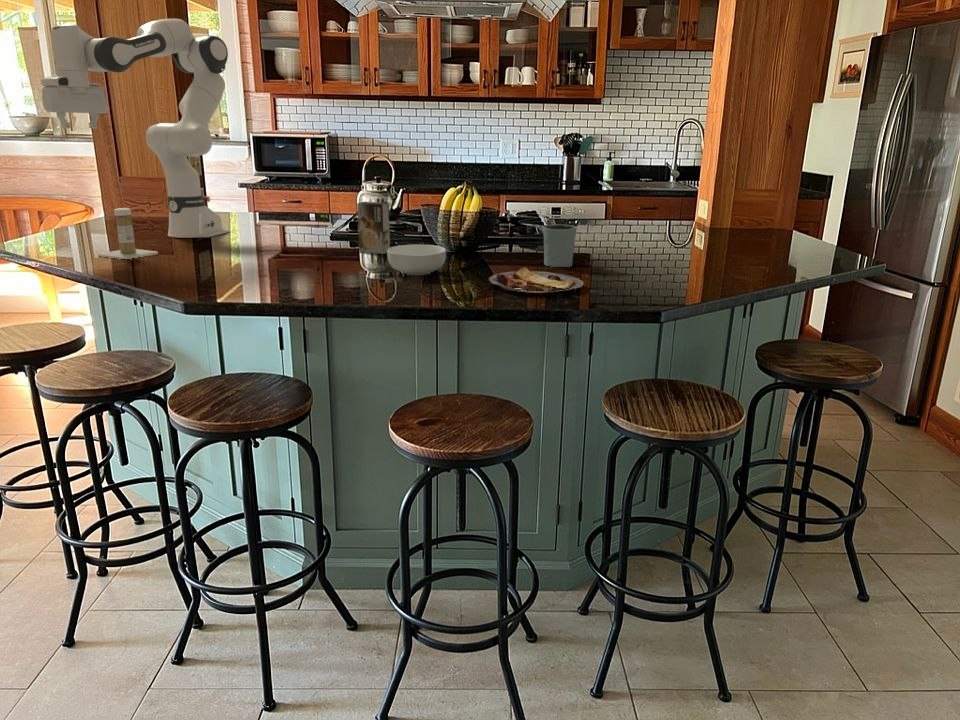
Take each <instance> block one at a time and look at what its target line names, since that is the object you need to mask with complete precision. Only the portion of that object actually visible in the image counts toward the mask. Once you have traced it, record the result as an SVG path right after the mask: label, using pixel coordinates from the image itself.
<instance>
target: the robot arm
mask: <svg viewBox="0 0 960 720" xmlns="http://www.w3.org/2000/svg"><path fill="white" fill-rule="evenodd" d="M50 42H51V52H52V56H53V59H54V63H55V66H54V71H55V74H52V75H49V76H46V77H42V78H41V79H40V84H41V86H42V87H43V88H42V89H41V98H42V99H41V100H42V105H43V109H44V110H45V111H46V112H47V113H56V117H57V119H58V120H59V121H60V123H61V127H62V129H70V128H71V122H69V121H67V119H66V116H67V115H66V113H68V114H69V113H72V114H73V113H74V114H75V113H76V114H89V117H91V120H90V122H88V127H89V129H98V125H97V123H98V120H99V117H100V116H99V114H107V113H108V112H109V106H108V102H107V98H106V94H105V90H104V89H105V88H104V87H103V86H102V85H101V84H100V83H98V82H90V79H89V71H91V72H93V73H97V72H98V73H105V72H108V73H123V72H126V71H127V70H128V69H130V67H132V65H133V64H134V63H135V62H137V61H139V60H142V59H145V58H147V57H148V58H162V57H167V56H170V55H171V57H172V59H173V62H174V65H175V66H176V67H177V68H178V69H179V70H180V71H181V72H183V73H186V74H193V79H192V82H191V83H190V85H189V87H188V88H187V90H186V91H185V94H184V95H183V97H182V99H181V100H180V102H179V104H178V109H179V112H180V114H181V119H180V120H179V121H178V122H161V123H156V124H153V125H150V126H149V127H148V128H147V130H146V132H145V142H146V145H147V146H148V148H149V149H150V150H151V151H152V152H153V153H154V154H155V156H156V157H157V159H158V160H159V162H160V164H161V166H162V169H163V172H164V177H165V181H166V183H165V184H166V189H167V196H166V198H167V200H166V201H167V206H168V209H169V210H168V211H169V213H168V233H167V236H168V237H170V238H181V239H183V238H185V239H186V238H189V239H190V238H212V237H214V236H219V235H222V234H226V233H230V229H229V228H226V227H225V228H224V227H223V224H222V223H223V222H222V219H221V217H220V215H219V213H218V214H217V213H216V212H215V211H213V210H212V209H211V208H210V207H208V206H207V205H206V204H207V203H211V200H210V199H211V197H210V196H209V195H208V196H206V195H205V196H203V195H202V190H201V181H200V180H201V179H200V173H199V172H198V171H197V170H196V169H195V168H194V167H192V165H191V163H190V161H189V159H188V157H198V156H204V155H206V154H208V153H209V152H210V151H211V149H212V146H213V137H212V135H211V133H210V131H209V126H210V125H209V124H210V121H211V120H212V117H213V115H214V114H215V112H216V110H217V108H218V106H219V104H220V102H221V101H222V98H223V95H224V92H225V88H226V82H225V79H224V77H223V76H222V75H221V74H222V73H224V71H225V70H226V64H227V62H228V57H229V53H228V52H229V50H228V46H227V45H226V43H225V42H224V40H223V39H222V38H221V37H218V36H216V35H212V34H211V35H210V34H209V35H204V36H198V37H195V36H194V34H193V31H192V28H191V27H190V25H189V24H188V23H187V22H186V21H184V20H183V19H180V18H163V19H157V20H152V21H149V22H147V23H144V24H142V25H141V26H139V27H138V29H137V32H136V36H134V37H132V38H127V39H124V38H120V37H117V36H108V37H103V38H102V37H101V38H100V37H99V38H95V37H94V36H92V35H90V34H88V33H86V32H85V31H83V30H82V29H81V28H80V26H79V25H78V24H70V23H69V24H61V25H58V24H57V25H55V26H53V27H52V28H51V32H50ZM206 202H207V203H206Z"/></svg>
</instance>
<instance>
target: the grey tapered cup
mask: <svg viewBox="0 0 960 720" xmlns="http://www.w3.org/2000/svg"><path fill="white" fill-rule="evenodd" d="M577 228H578V227H577V226H575V225H571V224H561V223H560V224H559V223H557V224H555V223H554V224H546V225H543V227H542V231H543V232H542V233H543V263H544V264H543V265H544V266H545V265H546V266H545V267H547V266H551V267H550V268H552V267H569V268H571V267H572V266H573V257H574V252H575V244H576V243H575V242H576V241H575V240H576V236H577V230H578V229H577ZM570 266H571V267H570Z"/></svg>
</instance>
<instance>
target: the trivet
mask: <svg viewBox="0 0 960 720" xmlns="http://www.w3.org/2000/svg"><path fill="white" fill-rule="evenodd" d="M135 249H136V252H134V253H121V252H120V249H118V250H113V251H106V252H102V253H97V257H98V256H101V257H100V258H105V257H108V258H107V259H113V258H115V260H121V259H130V260H133V259H132V258H135V259H139V258H138V257H141V258H145V256H146V257H149V256H155V255H159V251H157V250H154V251H153V250H146V249H138V248H135ZM116 258H117V259H116Z"/></svg>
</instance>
